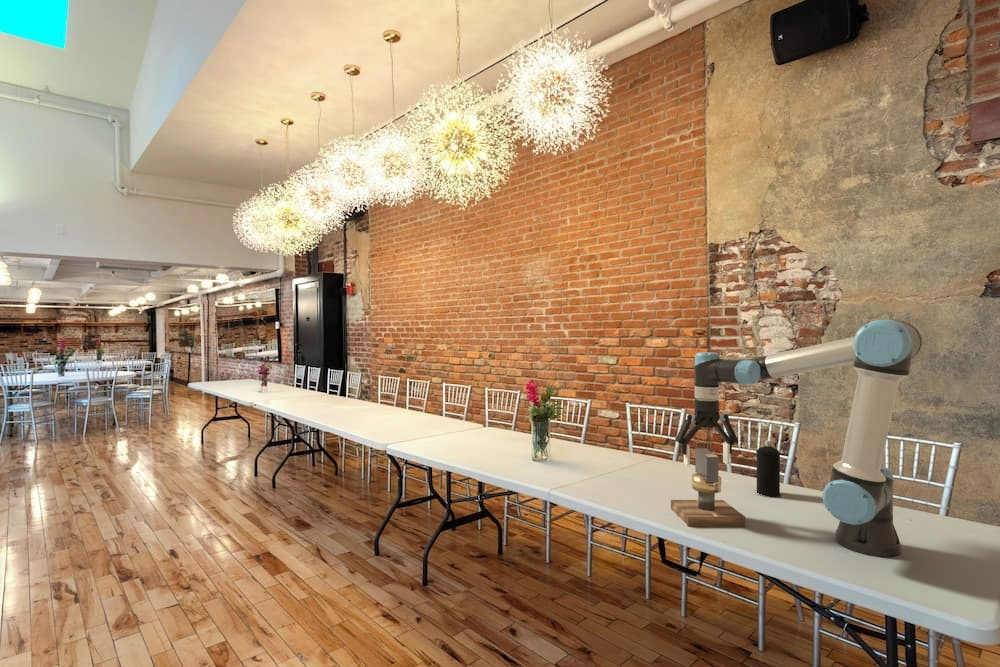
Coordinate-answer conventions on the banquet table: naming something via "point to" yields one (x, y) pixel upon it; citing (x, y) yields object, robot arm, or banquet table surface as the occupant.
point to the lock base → (707, 511)
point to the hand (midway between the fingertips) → (706, 463)
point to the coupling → (706, 472)
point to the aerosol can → (768, 470)
